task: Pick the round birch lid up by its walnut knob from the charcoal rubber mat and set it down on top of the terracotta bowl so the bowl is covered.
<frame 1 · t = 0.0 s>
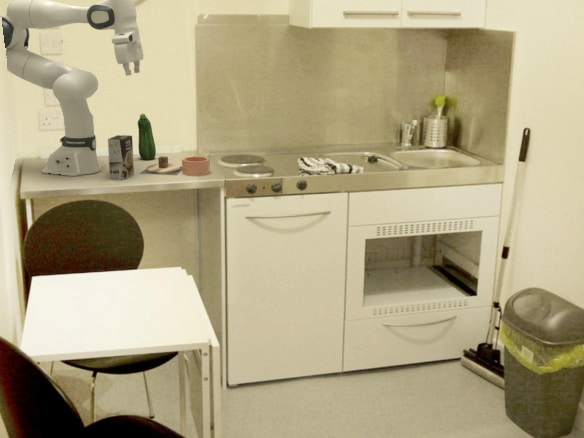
hand: (133, 74, 285), 39 cm above the table, tool pointing down, fingers open, 8 cm apart
coffee box: (122, 178, 288), on the table
bowl: (196, 174, 296), on the table
mat: (163, 171, 300), on the table
lid: (163, 170, 300), point 1 cm above the table, touching mat
vegetable: (147, 160, 320), on the table
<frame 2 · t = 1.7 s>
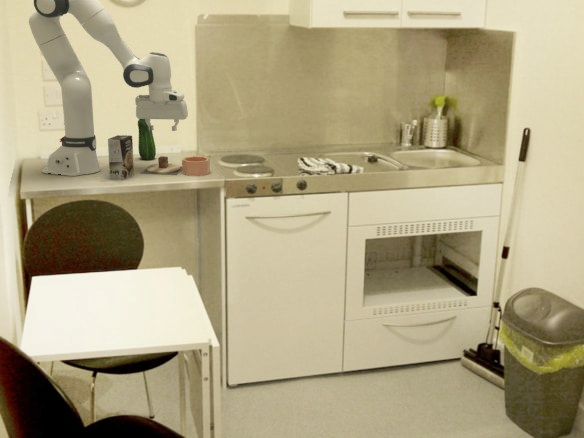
hand: (162, 130, 295), 17 cm above the table, tool pointing down, fingers open, 8 cm apart
nothing on the table moved.
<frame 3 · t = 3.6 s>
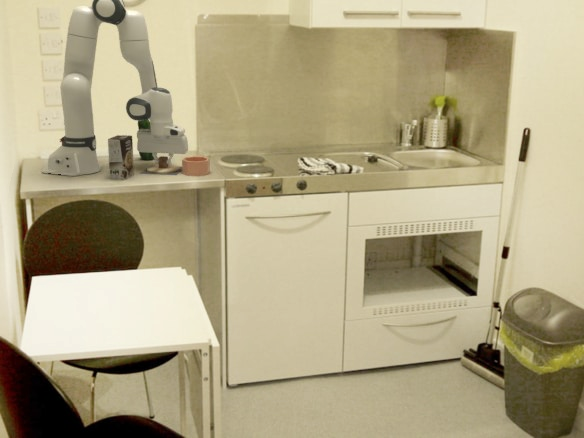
hand: (163, 163, 299), 3 cm above the table, tool pointing down, fingers closed on lid, 3 cm apart
lid: (163, 170, 300), point 1 cm above the table, touching gripper, mat
everything else where it was.
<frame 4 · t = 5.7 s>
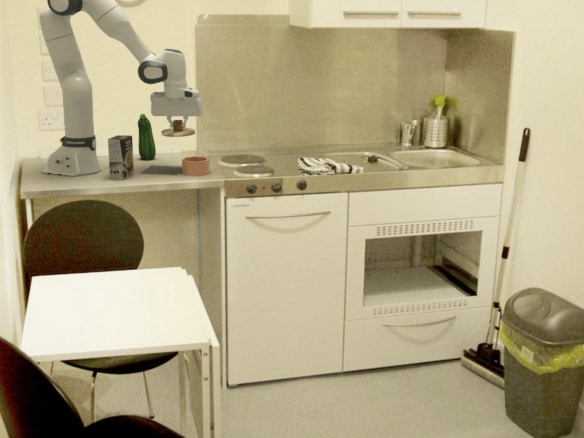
hand: (178, 127, 293), 18 cm above the table, tool pointing down, fingers closed on lid, 3 cm apart
lid: (178, 133, 294), point 16 cm above the table, touching gripper
everything else where it was.
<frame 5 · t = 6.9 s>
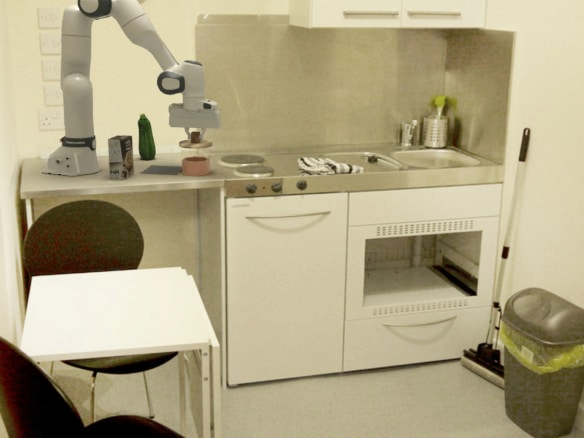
hand: (195, 139, 292), 14 cm above the table, tool pointing down, fingers closed on lid, 3 cm apart
lid: (195, 145, 293), point 12 cm above the table, touching gripper
everything else where it was.
when the fingers open (10 cm above the table, at t = 7.8 s): lid drops 1 cm, resting on bowl.
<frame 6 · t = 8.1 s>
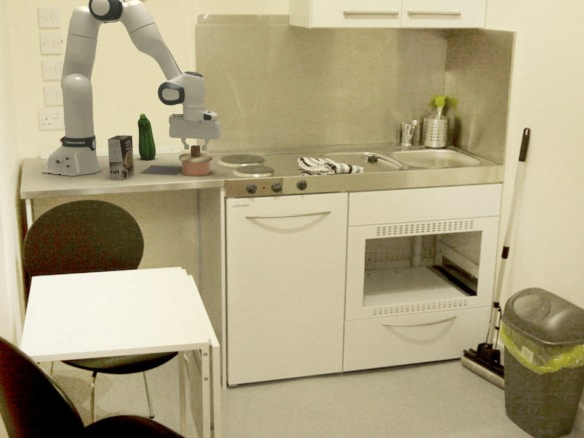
hand: (195, 149, 293), 10 cm above the table, tool pointing down, fingers open, 6 cm apart
lid: (195, 159, 294), point 6 cm above the table, touching bowl
everything else where it was.
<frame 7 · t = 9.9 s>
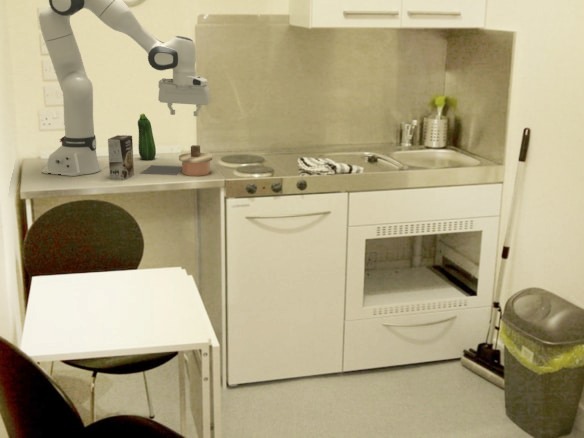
hand: (184, 115, 294), 23 cm above the table, tool pointing down, fingers open, 8 cm apart
nothing on the table moved.
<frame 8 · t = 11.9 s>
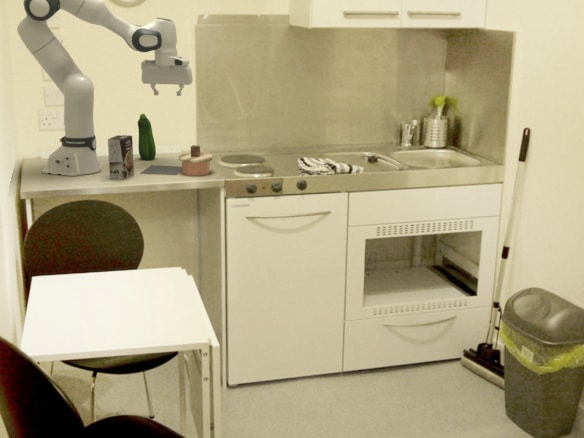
hand: (167, 95, 300), 29 cm above the table, tool pointing down, fingers open, 8 cm apart
nothing on the table moved.
at the end: lid 0.1 cm off-centre on the bowl, point 6.0 cm above the bowl's base; lid tilted 0°; the gripper is holding nothing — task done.
